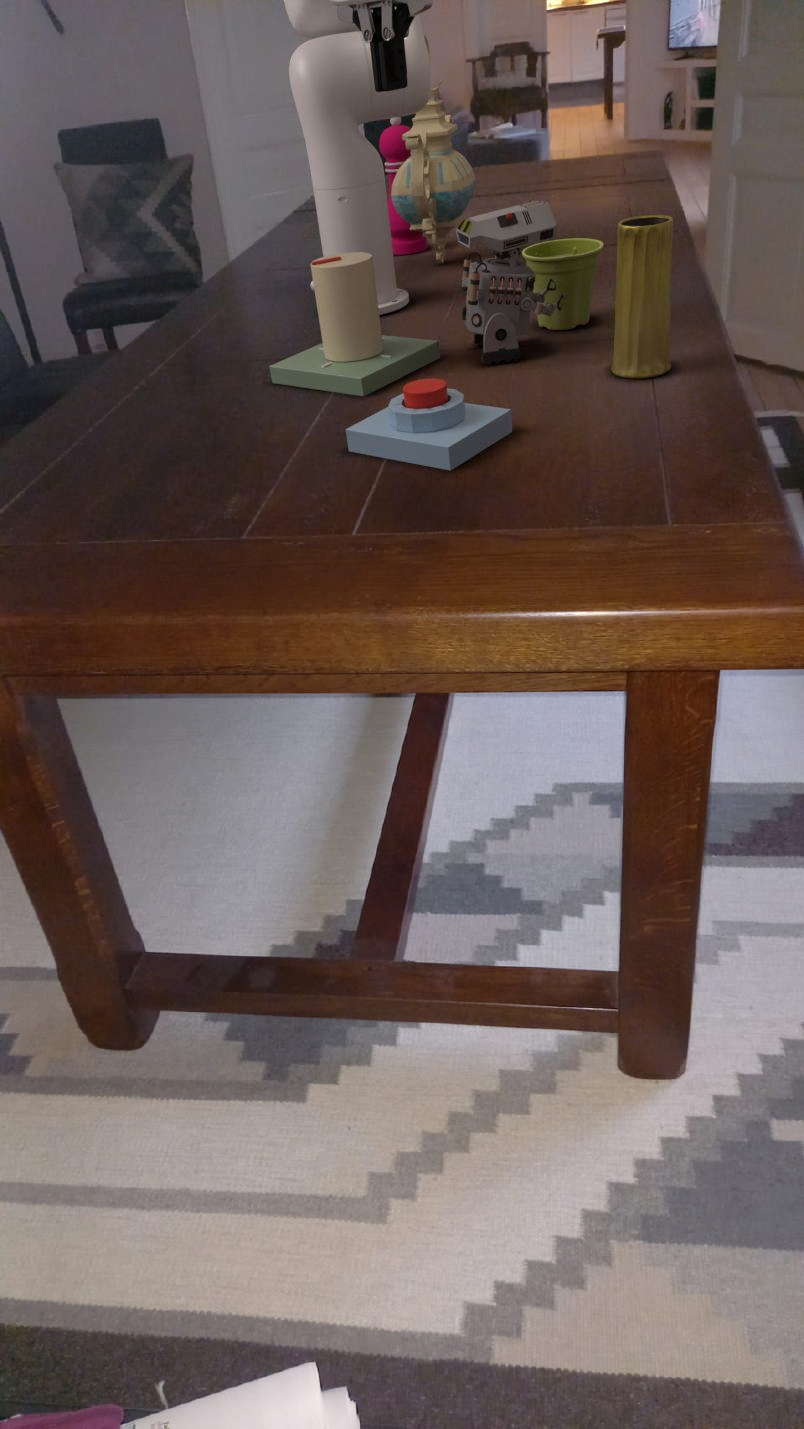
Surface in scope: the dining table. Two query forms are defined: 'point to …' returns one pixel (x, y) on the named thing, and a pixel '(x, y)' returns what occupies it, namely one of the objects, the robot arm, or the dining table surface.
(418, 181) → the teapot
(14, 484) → the dining table surface
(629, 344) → the vase
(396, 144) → the pepper mill
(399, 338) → the swivel stand
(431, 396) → the button
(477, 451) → the button box
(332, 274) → the cream cylinder red stripe
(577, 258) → the plant pot
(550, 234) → the figurine
